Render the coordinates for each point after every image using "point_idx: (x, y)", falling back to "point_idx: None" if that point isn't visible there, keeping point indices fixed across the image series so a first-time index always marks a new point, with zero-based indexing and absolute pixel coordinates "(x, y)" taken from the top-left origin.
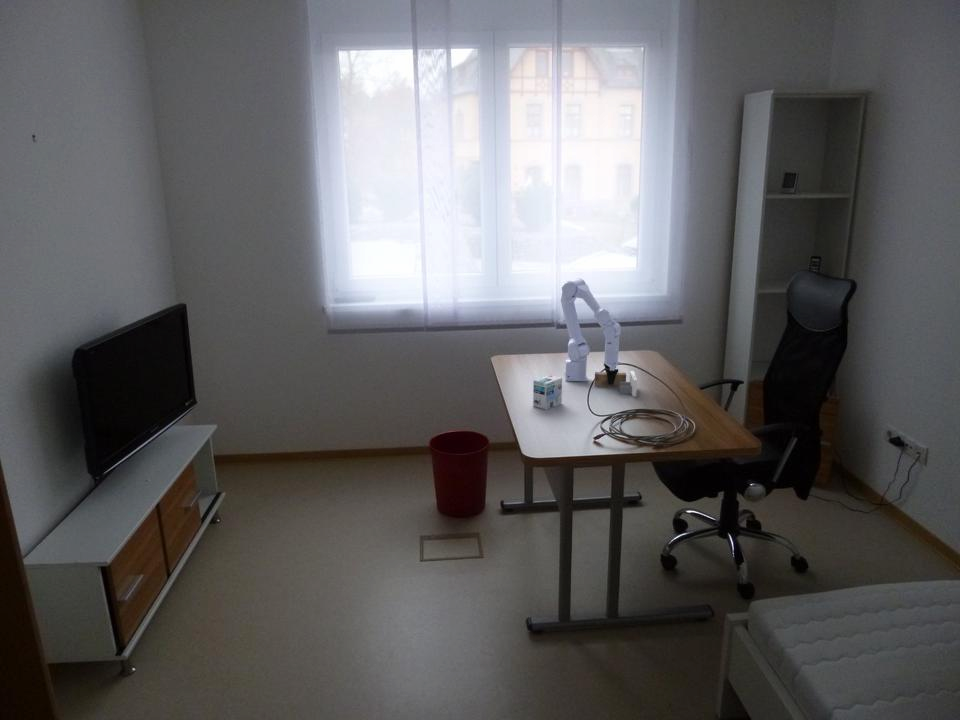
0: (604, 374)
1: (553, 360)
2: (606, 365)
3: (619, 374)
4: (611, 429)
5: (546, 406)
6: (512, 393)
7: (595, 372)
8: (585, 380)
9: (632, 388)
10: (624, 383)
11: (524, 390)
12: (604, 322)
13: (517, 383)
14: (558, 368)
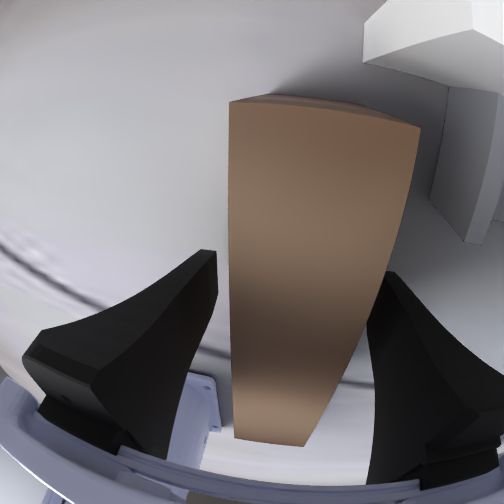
0: (322, 412)
1: (12, 361)
2: (161, 446)
3: (365, 265)
4: None
5: (496, 448)
6: (350, 485)
7: (250, 439)
8: (213, 388)
9: None
10: (492, 179)
11: (330, 479)
12: None
13: (262, 479)
14: None
